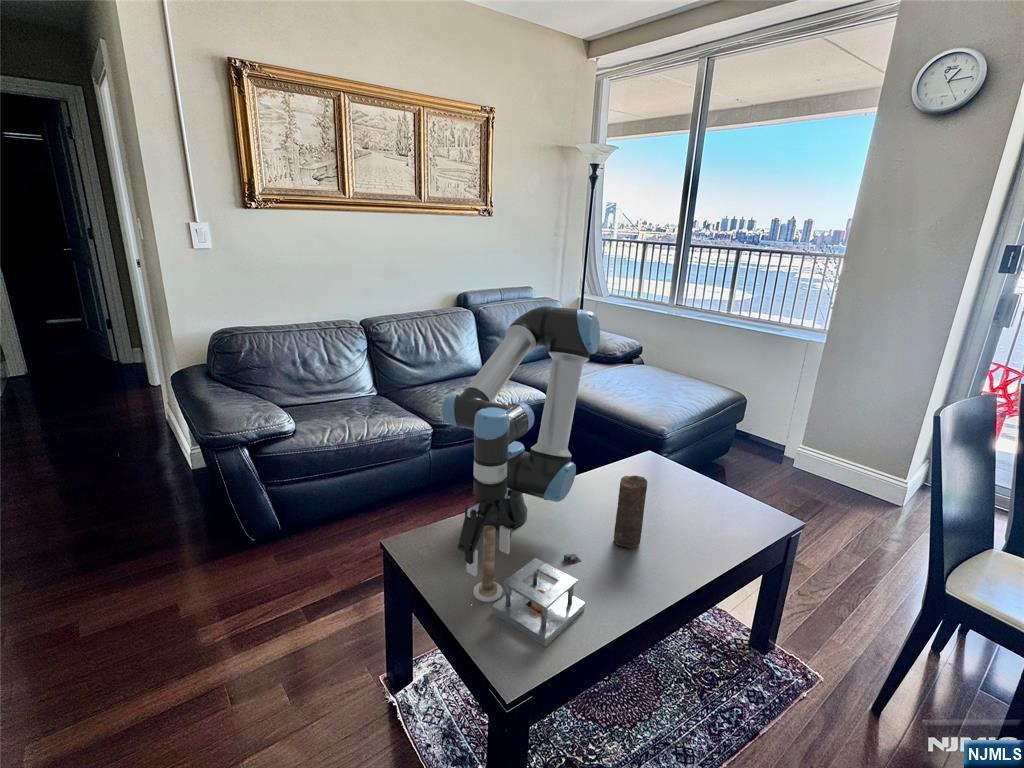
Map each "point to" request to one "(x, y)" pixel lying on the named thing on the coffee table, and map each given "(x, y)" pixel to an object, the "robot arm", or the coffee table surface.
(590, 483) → the coffee table surface
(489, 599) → the coaster
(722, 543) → the coffee table surface
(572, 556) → the multicolour small angular block
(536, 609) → the breaker button
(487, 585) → the turned wooden spindle
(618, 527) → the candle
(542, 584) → the grey square frame
